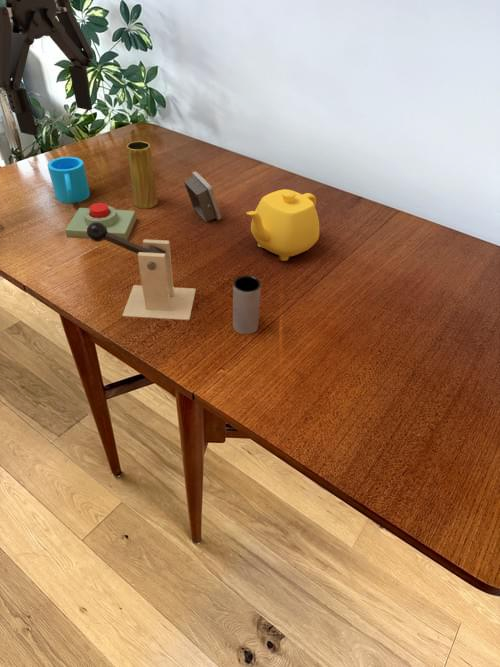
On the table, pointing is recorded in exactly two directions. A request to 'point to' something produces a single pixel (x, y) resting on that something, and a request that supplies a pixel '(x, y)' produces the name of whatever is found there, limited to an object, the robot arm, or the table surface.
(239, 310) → the gray hollow cylinder
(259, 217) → the teapot
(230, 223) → the table surface
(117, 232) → the button base
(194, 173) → the electrical switch
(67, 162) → the mug
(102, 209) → the button
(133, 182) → the vase
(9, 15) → the robot arm
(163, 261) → the bracket
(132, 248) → the lever
